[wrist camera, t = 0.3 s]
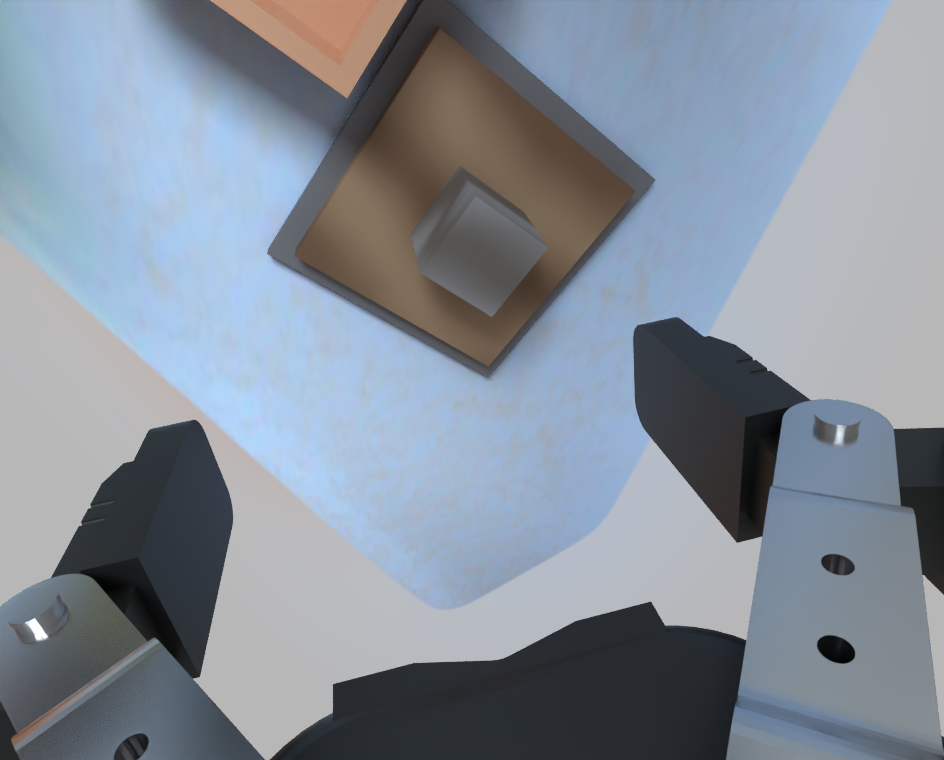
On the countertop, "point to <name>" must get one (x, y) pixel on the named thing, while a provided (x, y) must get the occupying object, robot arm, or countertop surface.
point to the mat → (369, 109)
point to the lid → (462, 205)
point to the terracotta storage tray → (321, 32)
